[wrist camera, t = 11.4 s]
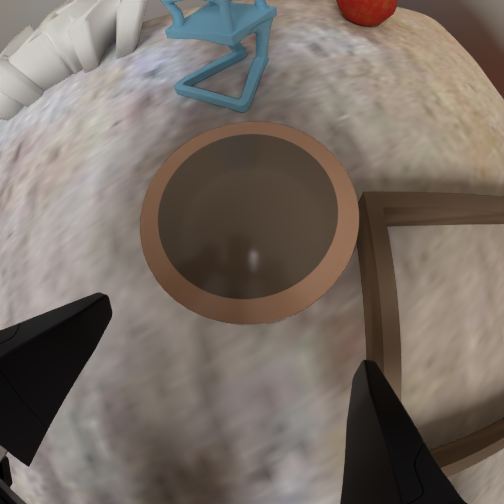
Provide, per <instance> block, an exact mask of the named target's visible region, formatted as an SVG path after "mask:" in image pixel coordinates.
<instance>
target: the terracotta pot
mask: <svg viewBox="0 0 504 504" xmlns="http://www.w3.org/2000/svg"><path fill="white" fill-rule="evenodd" d="M358 229H359V208H358V201H357V196H356V193H355V190H354V186H353V184H352V182H351V180H350V177H349V175H348V173H347V172H346V170H345V169H344V167H343V165H342V164H341V163H340V161H339V160H338V159H337V158H336V157H335V155H334V154H333V153H332V152H331V151H330V150H328V149H327V148H326V147H325V146H324V145H323V144H321V143H320V142H319V141H317V140H316V139H314V138H313V137H311V136H309V135H307V134H305V133H304V132H301V131H299V130H296V129H294V128H291V127H288V126H284V125H281V124H276V123H270V122H256V121H252V122H239V123H233V124H228V125H224V126H220V127H217V128H214V129H211V130H209V131H206V132H204V133H202V134H200V135H198V136H196V137H194V138H193V139H191V140H190V141H188V142H187V143H185V144H184V145H182V146H181V147H180V148H179V149H178V150H176V151H175V152H174V153H173V154H172V155H171V156H170V157H169V158H168V159H167V160H166V161H165V162H164V164H163V165H162V166H161V168H160V169H159V170H158V172H157V173H156V175H155V177H154V178H153V180H152V182H151V184H150V186H149V188H148V190H147V193H146V196H145V199H144V202H143V206H142V211H141V217H140V236H141V244H142V248H143V252H144V256H145V259H146V261H147V263H148V266H149V268H150V270H151V272H152V273H153V275H154V277H155V278H156V280H157V281H158V283H159V284H160V285H161V286H162V288H163V289H164V290H165V291H166V292H167V293H168V294H169V295H170V296H171V297H172V298H174V299H175V300H176V301H177V302H179V303H180V304H182V305H183V306H184V307H186V308H187V309H189V310H191V311H193V312H195V313H197V314H200V315H202V316H204V317H208V318H211V319H214V320H217V321H221V322H225V323H230V324H237V325H261V324H271V323H276V322H279V321H282V320H284V319H286V318H288V317H291V316H293V315H296V314H297V313H299V312H301V311H303V310H304V309H306V308H308V307H309V306H310V305H312V304H313V303H314V302H315V301H317V300H318V299H319V298H320V297H321V296H322V295H323V294H324V293H325V292H326V291H327V290H328V289H329V288H330V287H331V286H332V285H333V284H334V283H335V282H336V281H337V279H338V278H339V276H340V275H341V274H342V272H343V271H344V269H345V268H346V266H347V264H348V262H349V260H350V258H351V256H352V253H353V250H354V247H355V244H356V241H357V235H358Z"/></svg>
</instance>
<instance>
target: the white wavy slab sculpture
mask: <svg viewBox="0 0 504 504" xmlns="http://www.w3.org/2000/svg"><path fill="white" fill-rule="evenodd" d="M147 3H148V0H73V1H71V0H70V1H68V0H67V1H65V2H63V3H62V4H60V5H59V6H57V7H56V8H55V9H54V10H53V11H52V12H51V13H50V14H49V15H48V16H47V17H46V18H45V19H44V20H43V21H42V23H41V24H40V25H39V27H38V28H37V29H36V30H35V29H34V28H33V26H32V25H30V26H29V25H28V26H27V27H25V28H24V29H23V30H21V32H19V33H18V34H17V35H16V36H15V37H14V38H13V39H12V40H11V42H10V43H9V44H8V45H7V46H6V47H5V49H4V50H3V51H2V52H1V54H0V119H3V120H10V119H11V118H13V117H14V116H15V115H16V114H17V113H18V112H19V111H20V110H21V109H22V108H23V107H24V106H27V107H28V106H30V105H31V104H33V103H34V102H35V101H37V100H38V99H39V98H40V97H41V96H42V95H43V93H44V91H45V90H46V89H48V88H50V87H52V86H54V85H56V84H57V83H59V82H61V81H63V80H64V79H66V78H68V77H69V76H70V75H71V74H77V73H78V72H79V71H80V70H82V69H83V70H84V72H85V73H87V72H89V71H92V70H94V69H95V68H97V67H98V66H99V63H100V61H101V59H102V57H103V55H104V53H105V52H106V50H107V49H108V48H109V46H110V45H111V44H112V43H113V42H114V41H115V40H116V57H117V59H118V58H121V57H123V56H126V55H128V54H131V53H133V51H134V49H135V48H136V46H137V44H138V41H139V36H140V32H141V27H142V23H143V18H144V14H145V11H146V7H147Z"/></svg>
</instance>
